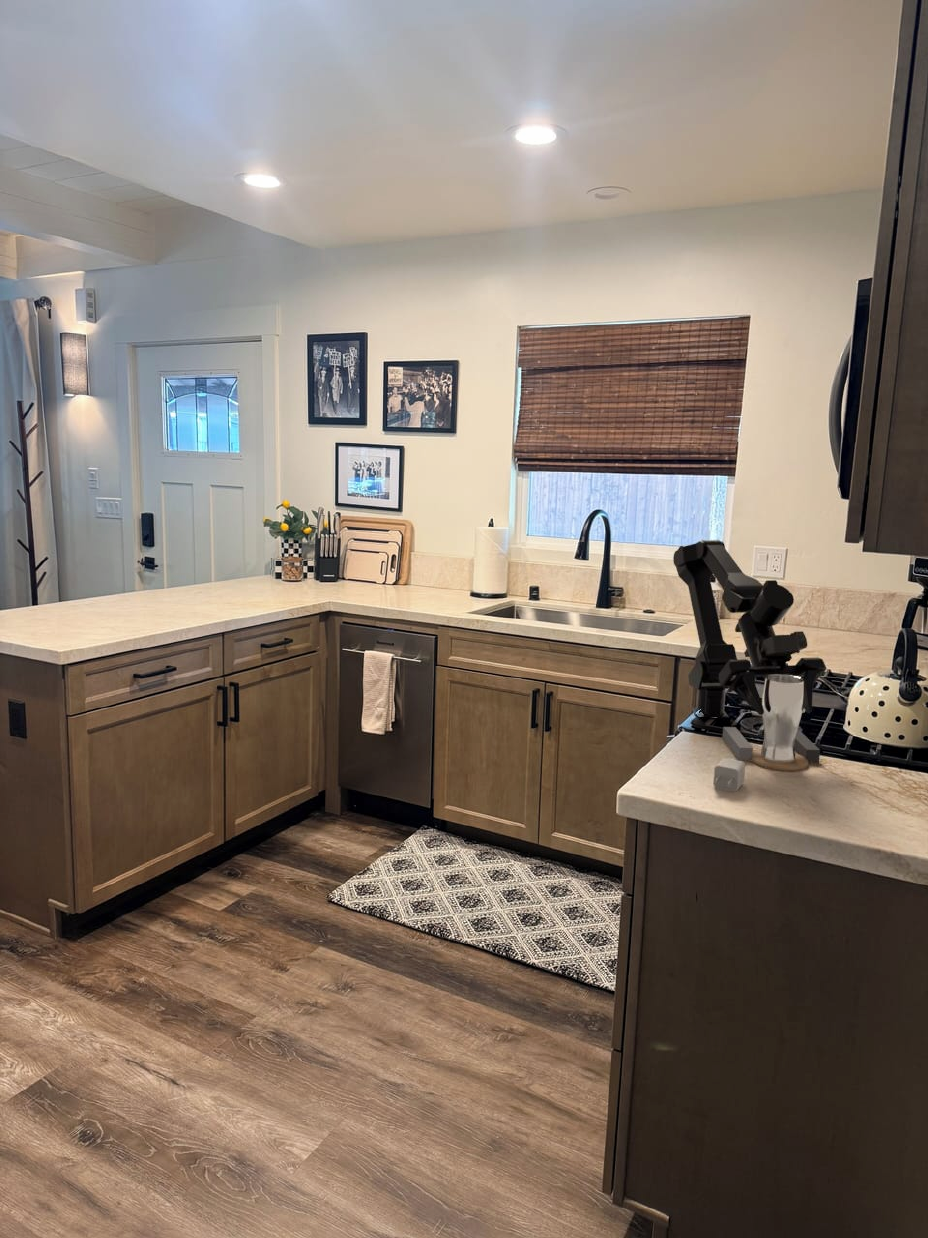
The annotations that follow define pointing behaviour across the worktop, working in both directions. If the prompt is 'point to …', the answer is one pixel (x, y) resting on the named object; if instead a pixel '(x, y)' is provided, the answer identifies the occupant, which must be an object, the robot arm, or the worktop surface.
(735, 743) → the grey square beam
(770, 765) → the coaster
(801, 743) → the long grey square rod
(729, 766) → the usb wall charger
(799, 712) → the silver metal cup
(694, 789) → the worktop surface
